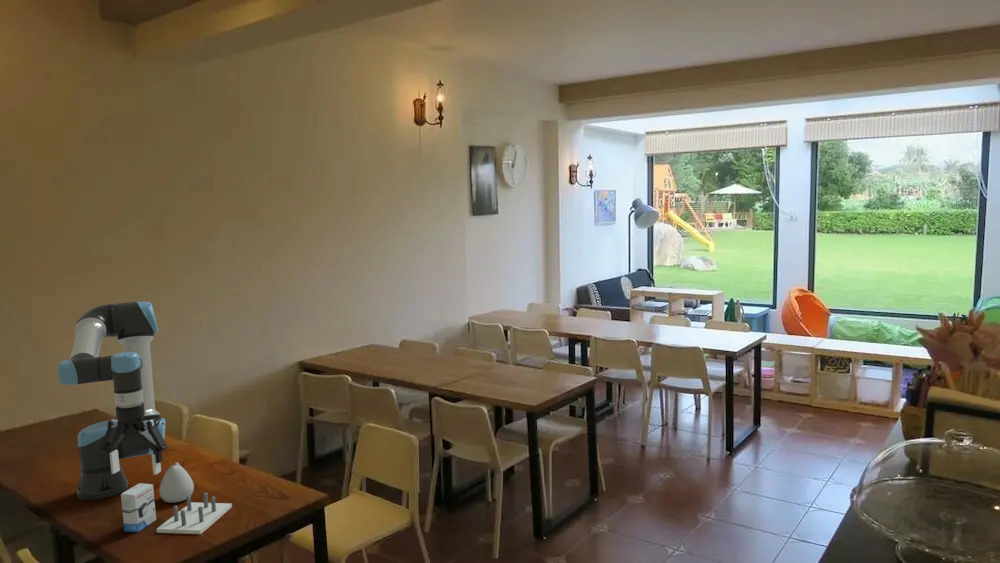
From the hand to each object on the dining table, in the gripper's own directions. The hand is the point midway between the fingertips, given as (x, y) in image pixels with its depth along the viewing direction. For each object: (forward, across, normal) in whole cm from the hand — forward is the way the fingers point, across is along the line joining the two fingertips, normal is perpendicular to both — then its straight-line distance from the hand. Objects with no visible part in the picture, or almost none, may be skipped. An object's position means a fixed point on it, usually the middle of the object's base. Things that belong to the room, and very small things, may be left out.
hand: (136, 472), depth 210 cm
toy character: (+17, 0, +19) cm, 25 cm away
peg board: (+17, +15, +5) cm, 23 cm away
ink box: (+17, 0, 0) cm, 17 cm away
